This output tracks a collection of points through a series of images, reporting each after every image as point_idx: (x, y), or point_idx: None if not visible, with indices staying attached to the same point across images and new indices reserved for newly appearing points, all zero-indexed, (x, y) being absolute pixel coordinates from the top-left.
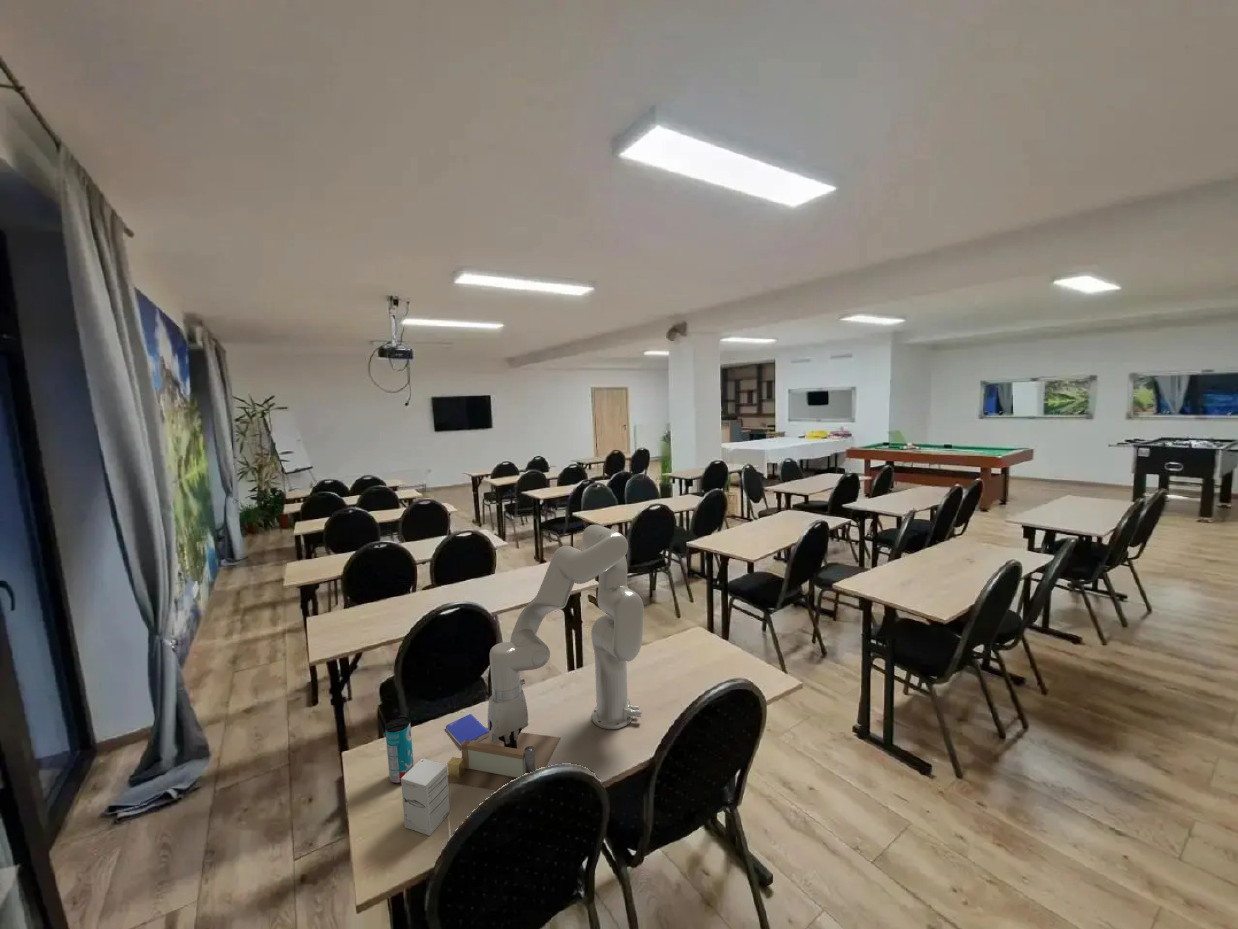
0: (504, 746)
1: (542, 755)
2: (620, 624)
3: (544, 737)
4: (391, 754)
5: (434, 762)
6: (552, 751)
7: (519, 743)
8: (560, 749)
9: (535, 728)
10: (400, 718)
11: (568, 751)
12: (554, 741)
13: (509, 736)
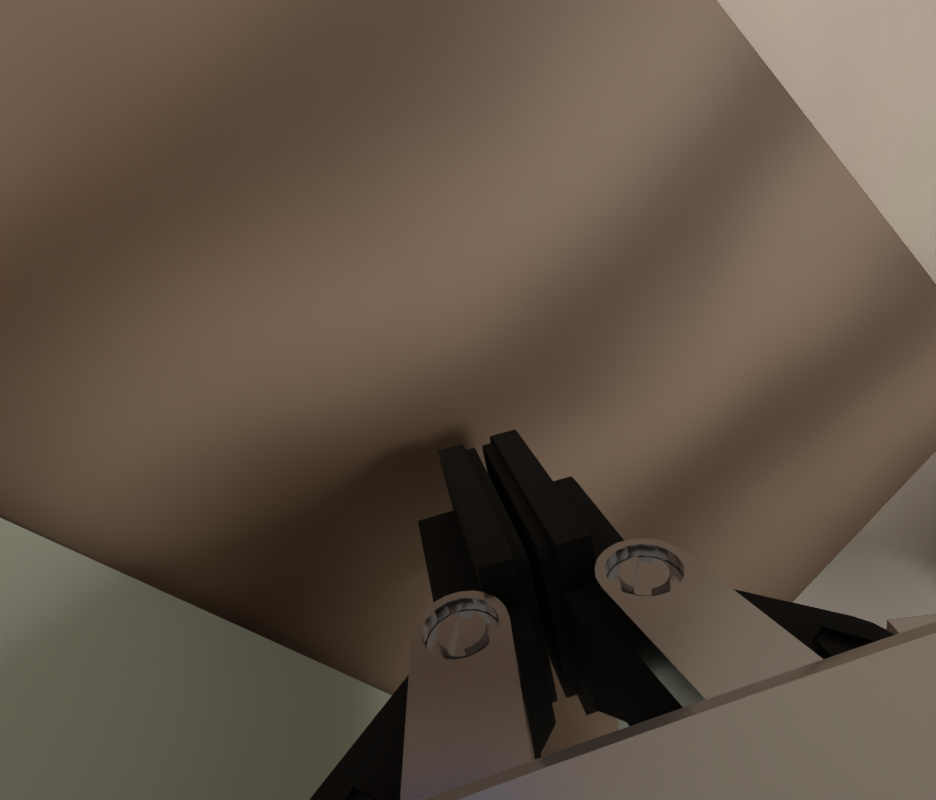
0: (428, 568)
1: (753, 556)
2: None
3: (899, 299)
4: None
5: None
6: (845, 534)
7: (632, 271)
8: (901, 494)
9: (907, 3)
10: None
11: (931, 538)
12: (933, 406)
13: (570, 560)
